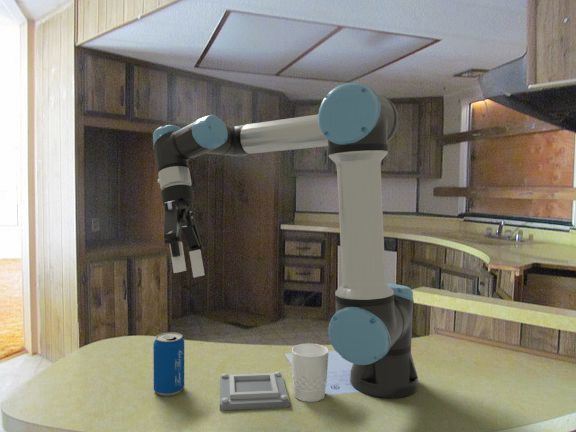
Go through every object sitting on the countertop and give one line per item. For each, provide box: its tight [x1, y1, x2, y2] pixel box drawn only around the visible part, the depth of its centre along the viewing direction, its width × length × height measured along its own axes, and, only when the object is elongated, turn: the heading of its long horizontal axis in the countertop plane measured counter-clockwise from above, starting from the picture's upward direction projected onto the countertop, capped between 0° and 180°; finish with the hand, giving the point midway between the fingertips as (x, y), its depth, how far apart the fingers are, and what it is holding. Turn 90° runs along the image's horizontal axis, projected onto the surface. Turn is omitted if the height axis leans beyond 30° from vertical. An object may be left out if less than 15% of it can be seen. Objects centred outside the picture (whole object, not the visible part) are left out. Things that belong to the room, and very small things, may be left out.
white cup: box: [291, 342, 329, 403], centre depth 101 cm, size 8×8×10 cm
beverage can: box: [152, 331, 185, 397], centre depth 102 cm, size 6×6×12 cm
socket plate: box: [219, 371, 290, 411], centre depth 102 cm, size 14×14×2 cm
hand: (190, 274), depth 110 cm, fingers open, 13 cm apart
